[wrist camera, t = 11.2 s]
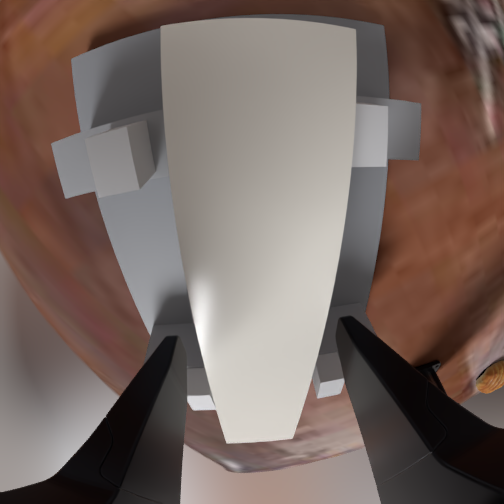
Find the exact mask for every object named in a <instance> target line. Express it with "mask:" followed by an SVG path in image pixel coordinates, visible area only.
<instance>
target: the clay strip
mask: <svg viewBox="0 0 504 504" xmlns="http://www.w3.org/2000/svg"><path fill="white" fill-rule="evenodd" d="M161 78H162V98H163V113H164V127H165V138H166V149H167V159H168V168H169V177H170V185H171V193H172V200H173V207H174V215H175V221H176V228H177V234H178V240H179V247H180V252H181V258H182V264H183V269H184V275H185V280H186V285H187V290H188V295H189V300H190V305H191V310H192V315H193V319H194V324H195V328H196V333H197V337H198V341H199V345H200V350H201V354H202V358H203V362H204V366H205V370H206V374H207V377H208V381H209V385H210V389H211V392H212V396H213V400H214V403H215V407H216V410H217V413H218V417H219V420H220V424H221V427H222V430H223V433H224V436H225V440H226V443H248V442H263V441H275V440H284V439H293V436H294V433H295V430H296V427H297V424H298V421H299V418H300V415H301V412H302V409H303V406H304V402H305V399H306V396H307V392H308V389H309V386H310V382H311V379H312V375H313V372H314V368H315V364H316V361H317V357H318V353H319V349H320V345H321V341H322V337H323V333H324V329H325V325H326V320H327V316H328V311H329V307H330V302H331V298H332V293H333V288H334V283H335V278H336V272H337V267H338V262H339V256H340V250H341V244H342V238H343V231H344V225H345V218H346V211H347V203H348V195H349V187H350V178H351V168H352V158H353V146H354V132H355V114H356V86H357V47H356V29H352V28H347V27H342V26H336V25H330V24H324V23H317V22H309V21H300V20H288V19H271V18H229V19H212V20H200V21H191V22H183V23H176V24H169V25H163V26H161Z"/></svg>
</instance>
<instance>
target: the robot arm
mask: <svg viewBox="0 0 504 504" xmlns="http://www.w3.org/2000/svg"><path fill="white" fill-rule="evenodd" d="M335 338H336V344H337V348H338V353H339V358H340V362H341V367H342V372H343V376H344V381H345V384H346V388H347V391H348V394H349V397H350V400H351V403H352V406H353V409H354V412H355V415H356V418H357V421H358V424H359V428H360V431H361V434H362V437H363V441H364V444H365V447H366V451H367V454H368V457H369V461H370V464H371V468H372V471H373V475H374V478H375V482H376V485H377V490H378V493H379V497H380V501H381V504H504V429H502V428H497V427H494V426H492V425H490V424H488V423H486V422H485V421H483V420H482V419H480V418H479V417H477V416H476V415H474V414H473V413H471V412H470V411H468V410H467V409H465V408H464V407H462V406H461V405H460V404H459V403H457V402H455V401H454V400H453V399H451V398H450V397H449V396H447V394H446V392H445V390H444V388H443V386H442V384H441V382H440V380H439V378H438V376H437V374H436V371H437V370H438V368H439V367H440V365H441V363H440V361H436V362H433V363H430V364H427V365H425V366H422V367H419V368H416V369H415V368H414V367H413V366H412V365H410V364H409V363H408V362H407V361H406V360H405V359H403V358H402V357H401V356H400V355H399V354H398V353H396V352H395V351H394V350H393V349H392V348H390V347H389V346H388V345H387V344H386V343H384V342H383V341H382V340H381V339H380V338H379V337H377V336H376V335H375V334H374V333H373V332H371V331H370V330H369V329H368V328H367V327H365V326H364V325H363V324H362V323H361V322H359V321H358V320H357V319H356V318H355V317H353V316H351V315H348V316H342V317H339V319H338V323H337V329H336V334H335ZM186 410H187V354H186V350H185V348H184V346H183V343H182V341H181V338H180V337H179V336H178V335H168V336H166V337H165V338H164V339H163V340H162V341H161V343H160V344H159V345H158V347H157V348H156V349H155V351H154V352H153V353H152V355H151V356H150V357H149V359H148V360H147V361H146V362H145V364H144V365H143V366H142V368H141V369H140V370H139V372H138V373H137V374H136V376H135V377H134V378H133V380H132V381H131V382H130V384H129V385H128V386H127V388H126V389H125V391H124V392H123V393H122V395H121V396H120V397H119V399H118V400H117V401H116V403H115V404H114V406H113V407H112V408H111V410H110V411H109V412H108V414H107V415H106V417H105V418H104V419H103V420H102V422H101V423H100V424H99V426H98V427H97V429H96V430H95V431H94V432H93V433H92V435H91V436H90V438H88V440H87V441H86V442H85V443H84V444H83V445H82V447H81V448H80V449H79V450H78V451H77V452H76V453H75V454H74V455H73V456H72V457H71V459H70V460H69V461H68V462H67V463H66V464H65V465H64V466H63V467H62V468H61V469H60V470H59V471H58V472H57V473H56V474H55V475H54V476H52V477H51V478H49V479H47V480H45V481H42V482H38V483H35V484H32V485H28V486H25V487H21V488H17V489H13V490H10V491H5V492H0V504H180V494H181V475H182V458H183V445H184V433H185V421H186Z"/></svg>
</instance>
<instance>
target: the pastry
mask: <svg viewBox="0 0 504 504" xmlns="http://www.w3.org/2000/svg"><path fill="white" fill-rule="evenodd" d="M503 385H504V360H502V361H499V362H497V363H494V364H492V366H491V367H489V368H487V369H486V371H485V372H484V374H483V375H482V376H480V377H479V378H478V379H477V380H476V387H477V389H478V390H480V391H481V392H482V393H486V394H487V393H491V392H493V391H494V390H496V389H498V388H501V387H502V386H503Z"/></svg>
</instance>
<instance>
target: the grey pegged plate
mask: <svg viewBox="0 0 504 504" xmlns="http://www.w3.org/2000/svg"><path fill="white" fill-rule="evenodd" d="M229 18H271V19H288V20H300V21H309V22H317V23H324V24H330V25H336V26H342V27H347V28H352V29H356V47H357V86H356V114H355V132H354V146H353V158H352V168H351V178H350V187H349V195H348V203H347V211H346V218H345V225H344V231H343V238H342V244H341V250H340V256H339V262H338V267H337V272H336V278H335V283H334V288H333V293H332V298H331V302H330V307H329V311H328V316H327V320H326V325H325V329H324V333H323V337H322V341H321V345H320V349H319V353H318V357H317V361H316V364H315V368H314V372H313V375H312V379H313V383H314V387H315V391H316V395H317V398H322V397H327V396H332V395H337V394H340V393H341V390H342V387H343V384H344V376H343V372H342V367H341V362H340V358H339V353H338V348H337V344H336V338H335V334H336V329H337V323H338V319H339V317H342V316H348V315H351V316H353V317H355V318H356V319H357V320H358V321H359V322H361V323H362V324H363V325H364V326H365V327H367V328H368V329H369V330H370V331H371V332H373V333H374V334H375V335H376V333H375V331H374V329H373V327H372V325H371V323H370V321H369V319H368V317H367V315H366V313H365V311H366V306H367V302H368V298H369V293H370V289H371V284H372V279H373V274H374V269H375V264H376V258H377V252H378V246H379V240H380V233H381V226H382V219H383V211H384V203H385V193H386V182H387V170H388V159H400V160H419V150H420V133H421V104H420V103H414V102H408V101H401V100H393V99H389V75H388V60H387V48H386V39H385V30H384V25H379V24H374V23H369V22H363V21H358V20H351V19H344V18H336V17H327V16H315V15H297V14H259V15H241V16H230V17H220V18H212V19H229ZM212 19H205V20H212ZM199 21H200V20H199ZM71 62H72V74H73V83H74V91H75V99H76V105H77V112H78V118H79V124H80V129H81V133H78V134H75V135H72V136H69V137H67V138H64V139H62V140H59V141H56V142H54V143H51V145H52V149H53V154H54V158H55V162H56V166H57V170H58V174H59V178H60V181H61V185H62V188H63V192H64V195H65V198H70V197H74V196H77V195H81V194H85V193H89V192H93V191H95V193H96V196H97V200H98V203H99V207H100V210H101V213H102V216H103V220H104V223H105V226H106V229H107V232H108V235H109V238H110V240H111V243H112V246H113V249H114V252H115V254H116V257H117V260H118V262H119V265H120V268H121V270H122V273H123V275H124V278H125V280H126V283H127V285H128V287H129V290H130V292H131V295H132V297H133V299H134V302H135V304H136V306H137V308H138V310H139V313H140V315H141V317H142V319H143V321H144V323H145V326H146V328H147V330H148V332H149V334H150V340H149V344H148V348H147V353H146V357H145V361H144V364H145V362H146V361H147V360H148V359H149V357H150V356H151V355H152V353H153V352H154V351H155V349H156V348H157V347H158V345H159V344H160V343H161V341H162V340H163V339H164V338H165V337H166V336H168V335H178V336H179V337H180V338H181V341H182V343H183V346H184V348H185V350H186V354H187V401H188V403H189V404H190V406H191V408H192V409H193V410H216V407H215V403H214V400H213V396H212V392H211V389H210V385H209V381H208V377H207V374H206V370H205V366H204V362H203V358H202V354H201V350H200V345H199V341H198V337H197V333H196V328H195V324H194V319H193V315H192V310H191V305H190V300H189V295H188V290H187V285H186V280H185V275H184V269H183V264H182V258H181V252H180V247H179V240H178V234H177V228H176V221H175V215H174V207H173V200H172V193H171V185H170V177H169V168H168V159H167V149H166V138H165V127H164V113H163V98H162V78H161V28H159V29H155V30H151V31H147V32H144V33H140V34H137V35H133V36H130V37H127V38H124V39H121V40H118V41H115V42H112V43H109V44H106V45H104V46H101V47H98V48H96V49H93V50H91V51H88V52H86V53H84V54H81V55H79V56H77V57H75V58H72V59H71ZM376 336H377V335H376Z"/></svg>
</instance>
